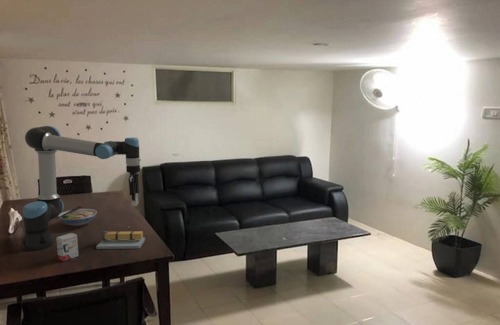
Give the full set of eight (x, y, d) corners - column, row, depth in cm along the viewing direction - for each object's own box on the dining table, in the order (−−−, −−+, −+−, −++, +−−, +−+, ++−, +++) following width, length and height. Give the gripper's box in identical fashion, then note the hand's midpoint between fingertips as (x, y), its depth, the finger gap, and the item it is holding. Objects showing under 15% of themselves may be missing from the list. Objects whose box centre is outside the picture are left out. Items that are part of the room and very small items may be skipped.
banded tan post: (101, 240, 214) (100, 232, 213) (103, 238, 218) (103, 230, 217) (141, 240, 214) (140, 232, 214) (143, 237, 218) (142, 229, 218)
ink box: (63, 262, 191) (61, 239, 189) (57, 259, 194) (55, 237, 192) (79, 256, 198) (77, 234, 196) (73, 254, 201) (71, 232, 199)
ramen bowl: (82, 232, 233) (81, 219, 232) (49, 229, 238) (48, 217, 237) (105, 219, 258) (105, 208, 256) (75, 217, 262) (74, 206, 261)
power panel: (96, 249, 208) (96, 245, 207) (104, 240, 220) (104, 237, 220) (139, 248, 208) (139, 245, 208) (145, 239, 221) (144, 236, 221)
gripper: (136, 167, 211) (138, 208, 215) (143, 162, 227) (144, 201, 230) (122, 167, 210) (124, 208, 214) (130, 162, 226) (132, 201, 230)
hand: (135, 204), depth 222 cm, fingers open, 3 cm apart
